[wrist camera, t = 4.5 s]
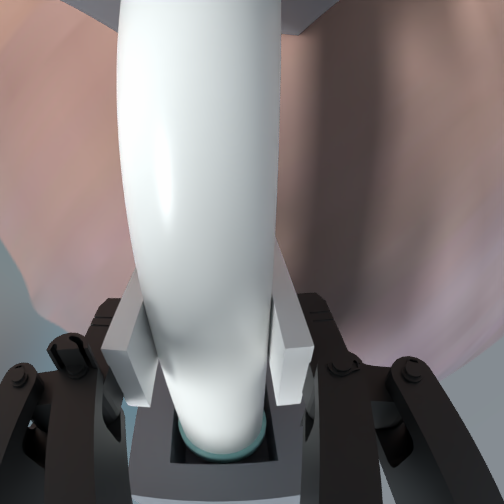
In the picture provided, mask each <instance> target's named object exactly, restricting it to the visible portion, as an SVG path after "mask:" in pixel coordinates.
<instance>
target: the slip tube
mask: <svg viewBox="0 0 504 504" xmlns="http://www.w3.org/2000/svg"><path fill="white" fill-rule="evenodd" d="M280 80H281V0H121V4H120V14H119V27H118V44H117V117H118V135H119V149H120V161H121V171H122V181H123V189H124V197H125V205H126V212H127V219H128V225H129V231H130V237H131V243H132V249H133V254H134V259H135V264H136V269H137V274H138V279H139V284H140V288H141V293H142V297H143V301H144V305H145V309H146V313H147V317H148V321H149V325H150V329H151V333H152V336H153V340H154V344H155V347H156V351H157V354H158V357H159V361H160V364H161V367H162V370H163V374H164V377H165V380H166V383H167V386H168V389H169V392H170V395H171V398H172V401H173V403H174V406H175V409H176V412H177V415H178V417H179V418H178V426H179V431H180V434H181V436H182V438H183V441H184V442H185V444H186V446H187V447H188V448H189V450H190V451H191V452H192V453H194V454H195V455H196V456H198V457H200V458H202V459H204V460H206V461H210V462H214V463H233V462H237V461H240V460H243V459H245V458H247V457H248V456H250V455H252V454H253V453H254V452H255V451H256V450H257V449H258V448H259V447H260V445H261V444H262V442H263V439H264V436H265V430H266V416H265V412H264V410H263V408H264V396H265V384H266V371H267V358H268V344H269V330H270V315H271V299H272V283H273V266H274V247H275V227H276V206H277V182H278V155H279V123H280Z"/></svg>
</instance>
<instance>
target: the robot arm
mask: <svg viewBox="0 0 504 504" xmlns="http://www.w3.org/2000/svg"><path fill="white" fill-rule="evenodd" d="M47 352H48V354H49V356H50V357H51V359H52V361H53V363H54V364H55V366H56V368H57V369H58V370H56V371H50V372H43V373H37V371H36V370H35V368H34V367H33V365H31V364H29V363H19V364H16V365H14V366H13V367H12V368H10V369H9V370H8V372H7V373H6V375H5V376H4V378H3V380H2V382H1V384H0V504H133V503H132V496H131V488H130V480H129V470H128V460H127V447H126V429H125V415H124V412H123V410H122V408H121V405H122V400H123V396H124V398H125V400H126V402H127V404H128V405H129V406H140V407H150V405H151V399H152V393H153V387H154V381H155V376H156V370H157V365H158V359H159V357H158V354H157V351H156V347H155V344H154V340H153V336H152V333H151V329H150V325H149V321H148V317H147V313H146V309H145V305H144V301H143V297H142V293H141V288H140V284H139V279H138V274H137V269H136V268H135V270H134V272H133V274H132V276H131V278H130V281H129V283H128V285H127V287H126V289H125V292H124V294H123V296H122V298H108V299H107V300H106V301H105V302H104V303H103V304H102V305H100V306H99V308H98V310H97V312H96V314H95V318H93V320H92V322H91V326H90V327H89V329H88V331H87V333H86V335H85V337H84V336H82V335H80V334H78V333H67V334H63V335H61V336H59V337H57V338H55V339H54V340H53V341H52V342H51V343H50V344H49V346H48V348H47ZM268 358H269V364H270V370H271V376H272V381H273V387H274V393H275V399H276V405H277V406H281V405H291V404H300V403H301V399H302V395H303V398H304V402H305V406H306V407H305V410H304V414H303V417H302V420H301V424H300V426H303V446H302V472H301V491H300V504H383V501H382V487H381V476H380V466H379V461H380V463H381V466H382V468H383V471H384V474H385V476H386V479H387V481H388V484H389V487H390V489H391V492H392V495H393V497H394V500H395V503H396V504H504V501H503V498H502V497H501V494H500V492H499V490H498V487H497V485H496V483H495V481H494V479H493V478H492V475H491V473H490V471H489V469H488V467H487V465H486V463H485V461H484V459H483V457H482V456H481V453H480V451H479V450H478V448H477V446H476V444H475V442H474V440H473V439H472V437H471V435H470V433H469V431H468V430H467V428H466V426H465V424H464V423H463V421H462V419H461V418H460V416H459V414H458V412H457V411H456V409H455V407H454V406H453V404H452V402H451V401H450V399H449V398H448V396H447V394H446V393H445V391H444V390H443V388H442V386H441V385H440V383H439V382H438V380H437V378H436V377H435V375H434V374H433V372H432V371H431V369H430V368H429V367H428V365H427V364H426V363H425V362H423V361H422V360H420V359H418V358H415V357H411V356H407V357H401V358H399V359H397V360H396V361H395V362H394V363H393V365H392V366H391V367H380V366H371V365H366V364H364V363H362V361H361V359H360V358H358V357H357V356H356V355H355V354H353V353H351V352H349V351H348V350H347V348H346V345H345V343H344V341H343V339H342V336H341V334H340V332H339V330H338V327H337V325H336V323H335V321H334V320H333V316H332V314H331V312H330V310H329V308H328V306H327V303H326V301H325V300H324V299H323V298H321V297H320V296H319V295H318V294H317V293H302V294H296V292H295V289H294V286H293V283H292V280H291V278H290V275H289V272H288V269H287V266H286V264H285V261H284V258H283V255H282V253H281V250H280V247H279V245H278V242H277V239H276V236H275V247H274V266H273V283H272V299H271V315H270V330H269V344H268ZM30 420H31V421H32V422H33V423H32V425H31V426H30V427H28V425H29V422H30Z"/></svg>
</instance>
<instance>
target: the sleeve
mask: <svg viewBox="0 0 504 504" xmlns="http://www.w3.org/2000/svg"><path fill="white" fill-rule="evenodd" d="M61 1H63V2H65V3H67V4H69V5H71V6H73V7H74V8H76V9H78V10H80V11H82V12H84V13H85V14H87V15H89V16H91V17H92V18H94V19H96V20H98V21H99V22H101V23H103V24H104V25H106V26H108V27H109V28H111V29H113V30H114V31H116V32H118V27H119V14H120V4H121V0H61ZM338 1H339V0H281V34H290V35H299V34H300V33H301V32H303V31H304V30H305V29H306V28H307V27H308V26H309V25H310V24H312V23H313V22H314V21H315V20H316V19H317V18H319V17H320V16H321V15H322V14H323V13H324V12H326V11H327V10H328V9H329V8H330V7H332V6H333V5H334V4H335V3H337V2H338Z"/></svg>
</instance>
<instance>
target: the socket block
mask: <svg viewBox="0 0 504 504" xmlns="http://www.w3.org/2000/svg"><path fill="white" fill-rule="evenodd" d="M305 407H306V406H305V402H304V398H303V395H302V399H301V403H300V404H291V405H281V406H277V405H276V399H275V393H274V387H273V381H272V376H271V370H270V364H269V358H267V371H266V384H265V396H264V408H263V410H264V412H265V416H266V430H265V436H264V439H263V442H262V444H261V445H260V447H259V448H258V449H257V450H256V451H255V452H254V453H253V454H252V455H250V456H248V457H247V458H245V459H243V460H240V461H237V462H233V463H214V462H210V461H206V460H204V459H202V458H200V457H198V456H196V455H195V454H194V453H192V452H191V451H190V450H189V448H188V447H187V446H186V444H185V442H184V441H183V438H182V436H181V434H180V431H179V426H178V418H179V417H178V415H177V412H176V409H175V406H174V403H173V401H172V398H171V395H170V392H169V389H168V386H167V383H166V380H165V377H164V374H163V370H162V367H161V364H160V361H159V359H158V365H157V370H156V376H155V381H154V387H153V393H152V399H151V405H150V407H140V406H138V410H137V415H136V422H135V427H134V433H133V439H132V446H131V453H130V460H129V467H128V470H129V480H130V488H131V496H132V499H134V500H135V501H136V502H138V503H139V504H300V491H301V472H302V446H303V426H300V424H301V420H302V417H303V414H304V410H305Z"/></svg>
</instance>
